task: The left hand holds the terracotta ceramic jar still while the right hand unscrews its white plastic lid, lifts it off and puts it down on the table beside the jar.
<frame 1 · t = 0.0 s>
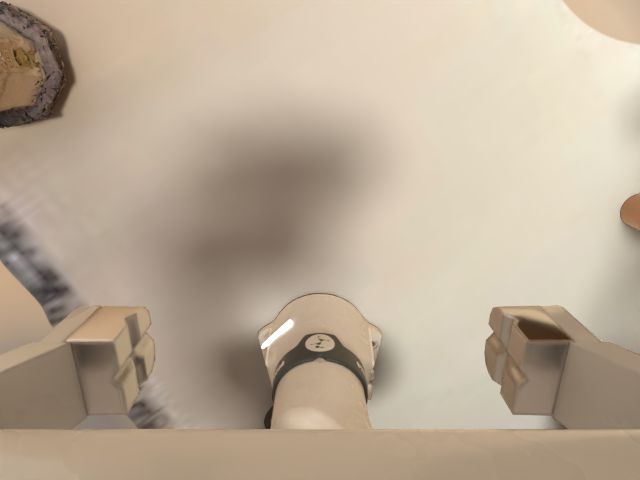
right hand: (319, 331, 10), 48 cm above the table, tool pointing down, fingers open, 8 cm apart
miniature building: (23, 68, 53), on the table
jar: (637, 209, 59), on the table
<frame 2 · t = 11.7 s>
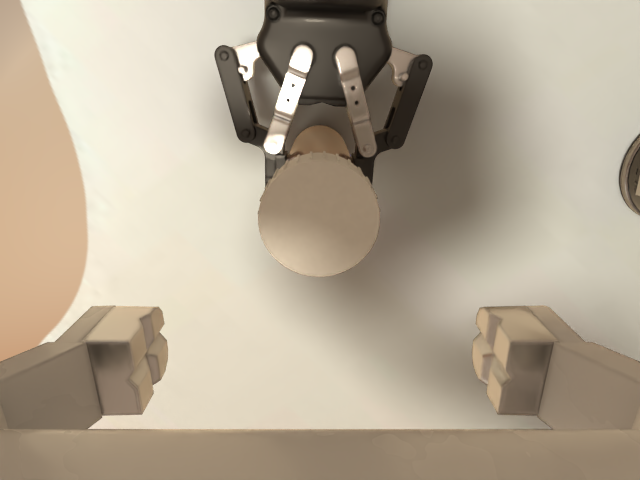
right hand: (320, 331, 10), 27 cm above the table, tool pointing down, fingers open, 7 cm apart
left hand: (318, 204, 31), fingers closed on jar, 4 cm apart
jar: (319, 153, 36), on the table, touching left hand
lid: (319, 219, 19), point 19 cm above the table, screwed on, not yet turned
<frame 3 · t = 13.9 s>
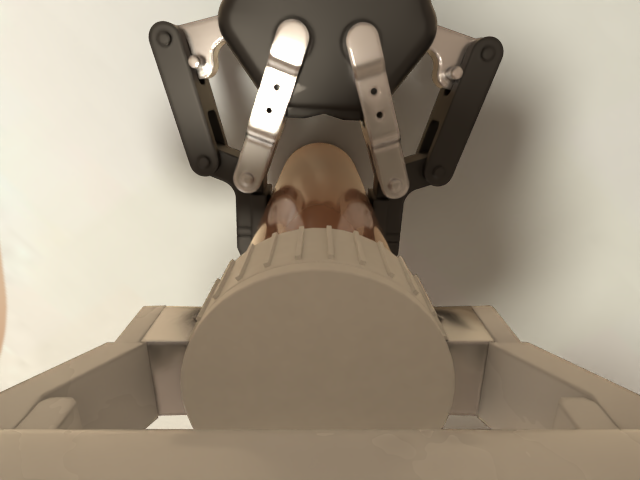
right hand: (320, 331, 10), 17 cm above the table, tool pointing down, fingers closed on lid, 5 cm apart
left hand: (317, 265, 21), fingers closed on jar, 4 cm apart
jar: (319, 181, 26), on the table, touching left hand
lid: (317, 382, 8), point 19 cm above the table, screwed on, not yet turned, touching right hand
when the right hand's fingers open (17 cm above the table, at t = 15.1 s): lid stays where it is, point 19 cm above the table.
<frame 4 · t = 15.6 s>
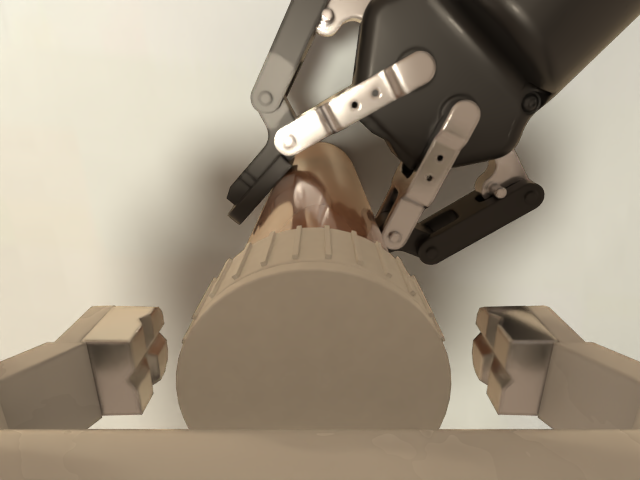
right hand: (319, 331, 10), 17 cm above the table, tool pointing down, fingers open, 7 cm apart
left hand: (280, 250, 21), fingers closed on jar, 4 cm apart
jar: (318, 180, 26), on the table, touching left hand
lid: (313, 382, 8), point 19 cm above the table, turned 65° so far, risen 0.2 cm, still on its thread
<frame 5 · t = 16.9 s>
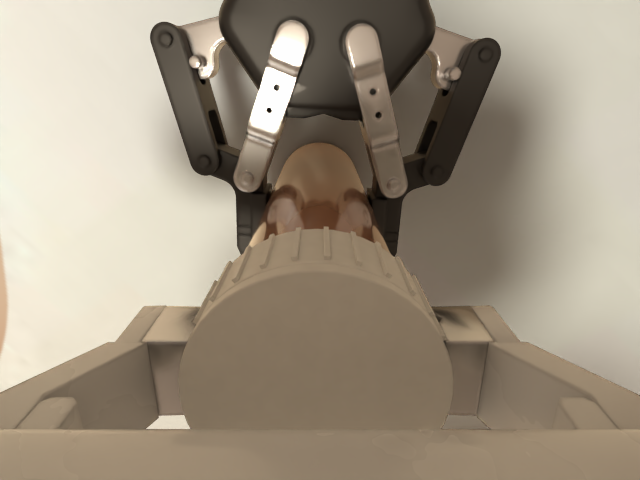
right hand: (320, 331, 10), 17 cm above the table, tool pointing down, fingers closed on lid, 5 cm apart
left hand: (316, 263, 21), fingers closed on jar, 4 cm apart
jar: (319, 180, 26), on the table, touching left hand
lid: (315, 384, 8), point 19 cm above the table, turned 65° so far, risen 0.2 cm, still on its thread, touching right hand
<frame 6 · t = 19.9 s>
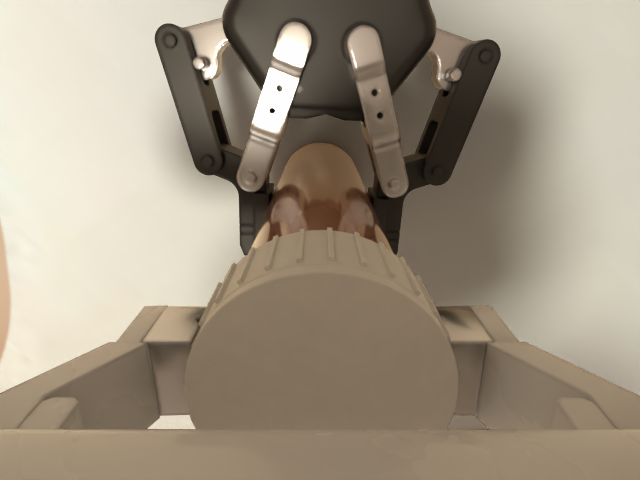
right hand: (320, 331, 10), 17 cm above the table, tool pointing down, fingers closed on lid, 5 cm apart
left hand: (318, 262, 21), fingers closed on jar, 4 cm apart
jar: (320, 180, 26), on the table, touching left hand
lid: (321, 385, 8), point 19 cm above the table, turned 130° so far, risen 0.4 cm, still on its thread, touching right hand
when the right hand's fingers open (2 cm above the table, at t = 26.5 s): lid drops 2 cm, point 2 cm above the table.
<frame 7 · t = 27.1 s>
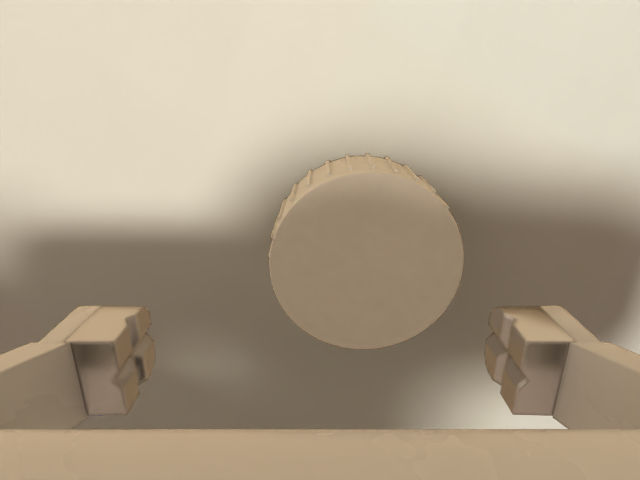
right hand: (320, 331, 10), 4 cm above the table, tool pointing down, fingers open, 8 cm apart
lid: (365, 263, 12), point 2 cm above the table, off its thread
when the left hand's fingers open (7 cm above the table, at t = 27.5 s): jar stays where it is, on the table.
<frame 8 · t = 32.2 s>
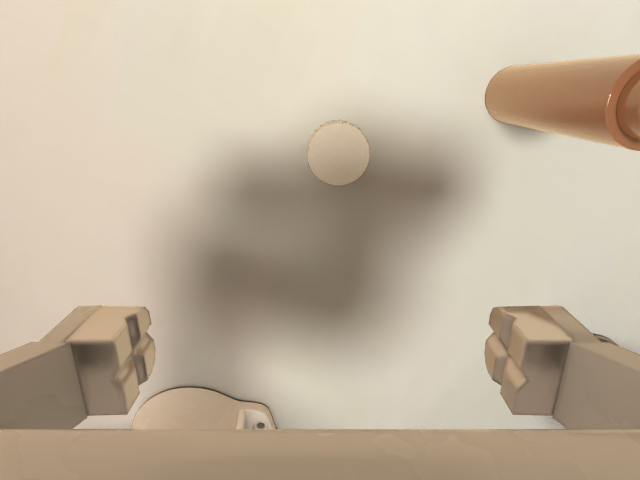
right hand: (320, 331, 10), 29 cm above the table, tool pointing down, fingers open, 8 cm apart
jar: (512, 95, 36), on the table
lid: (338, 154, 36), point 2 cm above the table, off its thread
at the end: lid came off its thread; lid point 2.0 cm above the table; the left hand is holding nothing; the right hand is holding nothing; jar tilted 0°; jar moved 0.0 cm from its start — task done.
